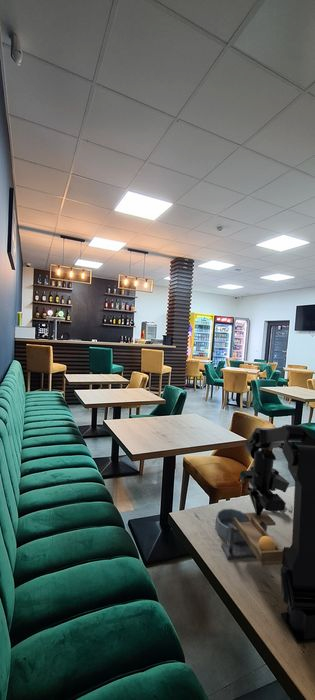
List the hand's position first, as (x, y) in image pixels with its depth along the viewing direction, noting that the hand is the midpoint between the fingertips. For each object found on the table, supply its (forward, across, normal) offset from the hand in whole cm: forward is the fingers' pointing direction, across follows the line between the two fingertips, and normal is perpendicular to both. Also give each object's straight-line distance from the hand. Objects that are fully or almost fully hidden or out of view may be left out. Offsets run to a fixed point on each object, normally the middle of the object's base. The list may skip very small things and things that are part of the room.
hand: (258, 514), depth 98 cm
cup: (+7, +2, +7) cm, 10 cm away
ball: (-4, -17, +7) cm, 19 cm away
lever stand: (+7, -7, +7) cm, 12 cm away
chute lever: (0, -10, +4) cm, 11 cm away
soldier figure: (+7, +11, -12) cm, 18 cm away
